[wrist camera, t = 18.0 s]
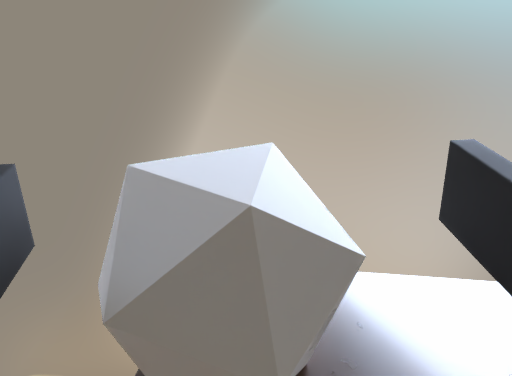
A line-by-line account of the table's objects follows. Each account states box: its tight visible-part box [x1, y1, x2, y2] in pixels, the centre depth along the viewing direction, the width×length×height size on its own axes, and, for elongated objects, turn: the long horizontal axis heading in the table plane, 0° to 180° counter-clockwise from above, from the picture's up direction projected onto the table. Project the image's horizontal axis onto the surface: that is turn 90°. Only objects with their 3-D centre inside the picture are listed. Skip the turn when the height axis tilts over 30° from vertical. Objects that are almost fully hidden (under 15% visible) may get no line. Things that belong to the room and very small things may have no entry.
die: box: [98, 143, 366, 376], centre depth 17 cm, size 8×9×10 cm
